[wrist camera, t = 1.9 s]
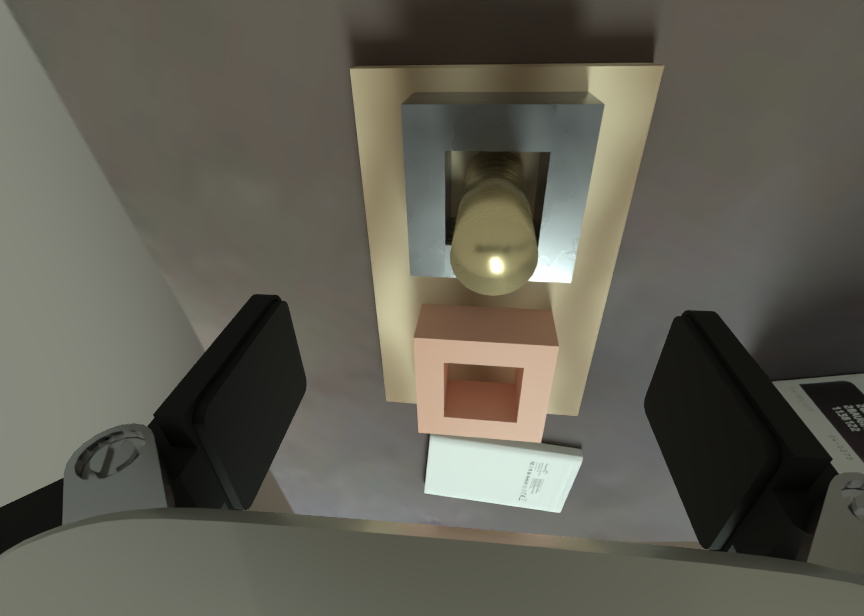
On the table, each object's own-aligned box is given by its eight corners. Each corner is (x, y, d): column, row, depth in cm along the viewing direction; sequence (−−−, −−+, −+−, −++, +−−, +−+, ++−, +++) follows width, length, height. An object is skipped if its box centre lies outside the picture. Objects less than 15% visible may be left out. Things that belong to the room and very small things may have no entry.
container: (736, 382, 29) (874, 590, 19) (872, 369, 28) (1112, 592, 17) (724, 454, 33) (833, 660, 23) (843, 447, 32) (1021, 668, 21)
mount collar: (588, 91, 19) (604, 104, 17) (561, 250, 24) (571, 282, 21) (414, 92, 20) (400, 104, 17) (419, 245, 25) (410, 275, 22)
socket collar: (552, 310, 26) (559, 346, 23) (536, 402, 31) (541, 442, 28) (422, 303, 27) (413, 337, 24) (425, 394, 31) (418, 432, 29)
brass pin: (526, 148, 21) (543, 218, 14) (520, 206, 23) (532, 297, 15) (465, 147, 21) (450, 215, 14) (464, 205, 23) (449, 293, 16)
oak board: (653, 62, 20) (664, 65, 19) (574, 400, 32) (577, 415, 31) (358, 65, 21) (349, 68, 20) (390, 387, 34) (386, 401, 32)
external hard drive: (432, 421, 36) (581, 443, 35) (426, 479, 41) (557, 499, 40) (429, 437, 35) (584, 460, 34) (423, 495, 40) (559, 516, 39)
